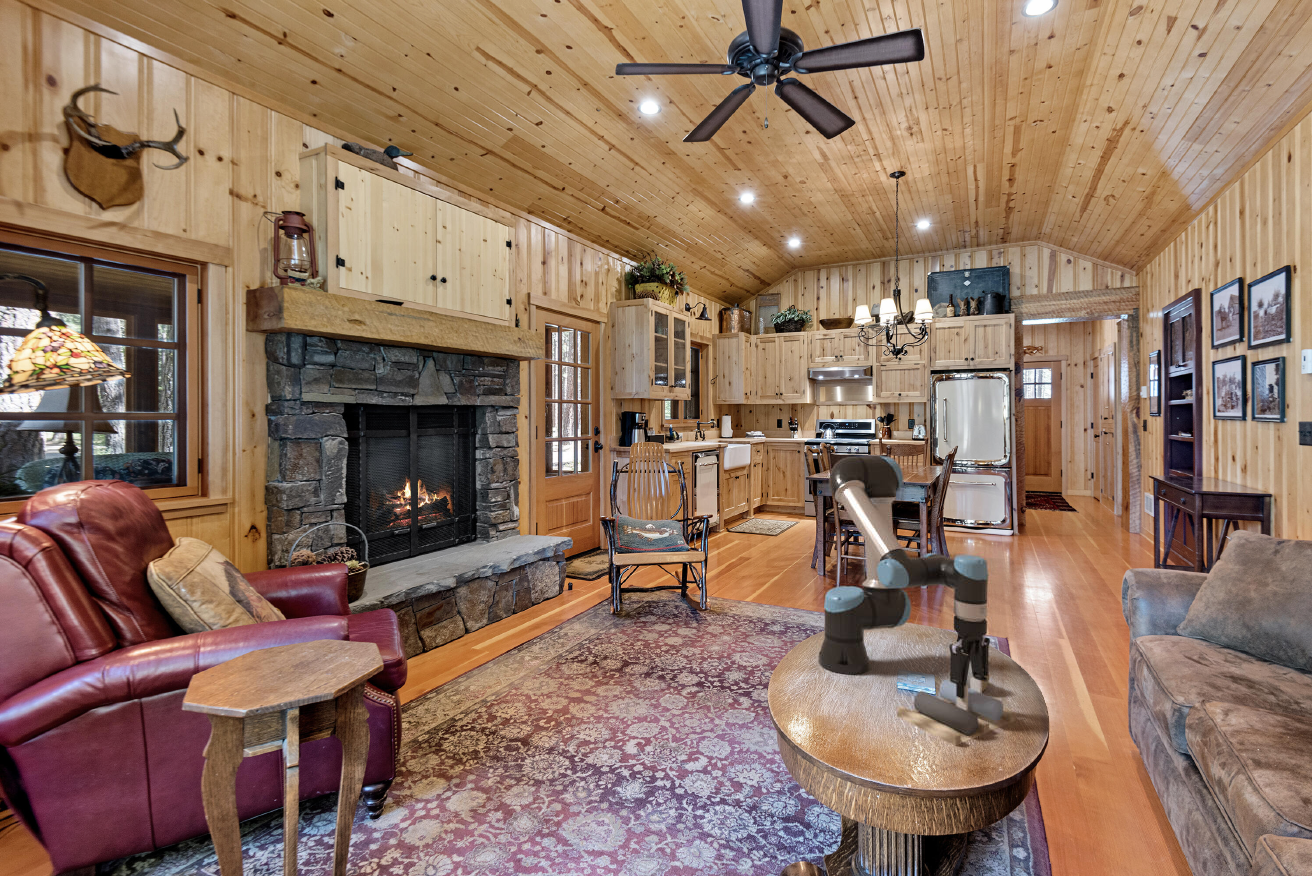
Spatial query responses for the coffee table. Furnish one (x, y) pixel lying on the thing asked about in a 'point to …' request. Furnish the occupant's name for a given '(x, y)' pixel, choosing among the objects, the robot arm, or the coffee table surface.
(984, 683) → the ceramic mug
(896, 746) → the coffee table surface
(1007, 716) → the slot rack
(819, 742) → the coffee table surface
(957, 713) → the charcoal rod
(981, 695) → the gray dowel
